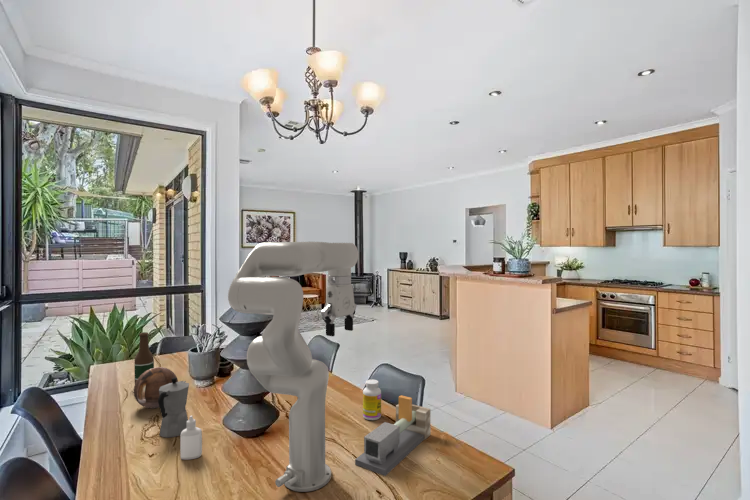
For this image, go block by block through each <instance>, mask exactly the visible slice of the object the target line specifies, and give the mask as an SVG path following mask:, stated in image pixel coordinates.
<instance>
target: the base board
mask: <svg viewBox="0 0 750 500" xmlns="http://www.w3.org/2000/svg"><path fill="white" fill-rule="evenodd" d="M423 441H424V435H423V434H420V433H416V432H413V431H410V430H406V429H405V430H404V431H403V432H401V433H400V444H399V445H398V450H397V451H396V452H395V453H392V452H389V453H388V454H387V455H386V461H385V462H384V463H383V464H378V463H375V462H373V461H370V460H367V459H366V456H365V455H364V452H363V453H362V454H360V455H359V456H358V457H356V458H355V459H354V463H355V464H354V465H355V466H358V467H360V468H363V469H366V470H369V471H371V472H373V473H376V474H379V475H381V476H385V477H386V476H387V475H388V474H389V473H390V472H392V470H394V468H396V466H398V465H399V464H400V463H401V462H402V461H403V460H404V459H405V458H406V457H407V456H408V455H410V453H412V451H414V450H415V449H416V448H417V447H418V446H419V445H420V444H421V443H422V442H423Z"/></svg>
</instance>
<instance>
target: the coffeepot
mask: <svg viewBox="0 0 750 500" xmlns="http://www.w3.org/2000/svg"><path fill="white" fill-rule="evenodd" d="M177 379H178V377H177V378H172V383H169V384H166V385H164V386H161V387H160V389H159V394H160V396H159V399H158V404H159V410H160V414H161V422H160V429H159V436H160V437H161V438H165V439H166V438H167V439H168V438H176V437H179V436H180V435H181V432H182V431H183V430H184V429H186V428H187V421H188V420H189V418H188V413H187V409H186V408H187V407H186V406H187V400H188V394H189V386H190V383H189V382H186V380H178V382H176V380H177Z"/></svg>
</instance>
